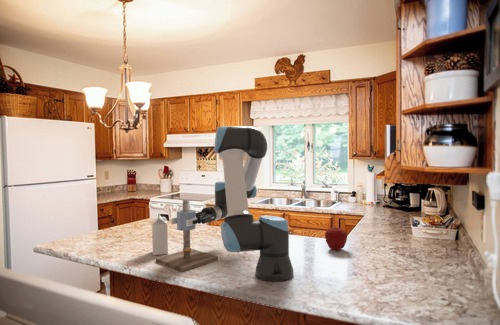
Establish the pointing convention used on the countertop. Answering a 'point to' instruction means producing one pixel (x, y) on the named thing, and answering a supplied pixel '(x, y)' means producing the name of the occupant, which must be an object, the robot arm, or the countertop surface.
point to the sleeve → (182, 220)
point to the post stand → (186, 253)
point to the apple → (336, 238)
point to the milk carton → (160, 236)
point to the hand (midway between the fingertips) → (179, 222)
